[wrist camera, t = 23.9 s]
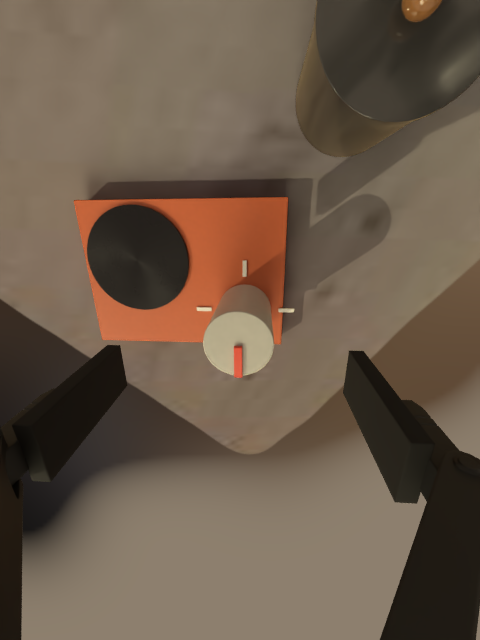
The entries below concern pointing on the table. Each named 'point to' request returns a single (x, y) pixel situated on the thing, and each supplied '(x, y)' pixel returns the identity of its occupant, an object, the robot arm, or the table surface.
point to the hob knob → (240, 332)
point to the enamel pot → (383, 68)
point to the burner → (138, 256)
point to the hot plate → (201, 264)
